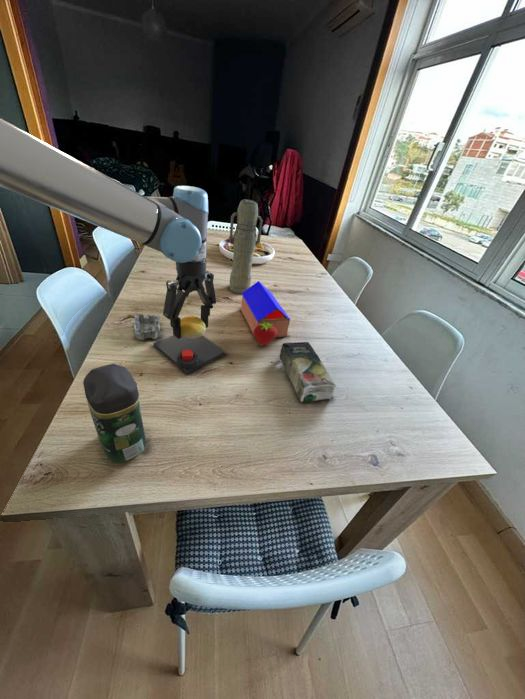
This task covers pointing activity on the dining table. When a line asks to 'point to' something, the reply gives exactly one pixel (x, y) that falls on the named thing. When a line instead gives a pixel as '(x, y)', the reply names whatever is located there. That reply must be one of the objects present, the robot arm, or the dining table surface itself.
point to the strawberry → (265, 333)
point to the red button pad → (200, 347)
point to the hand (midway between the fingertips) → (191, 330)
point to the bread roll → (192, 327)
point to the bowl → (260, 254)
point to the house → (263, 309)
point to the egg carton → (147, 326)
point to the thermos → (244, 244)
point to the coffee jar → (115, 411)
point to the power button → (187, 355)
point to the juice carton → (306, 372)
